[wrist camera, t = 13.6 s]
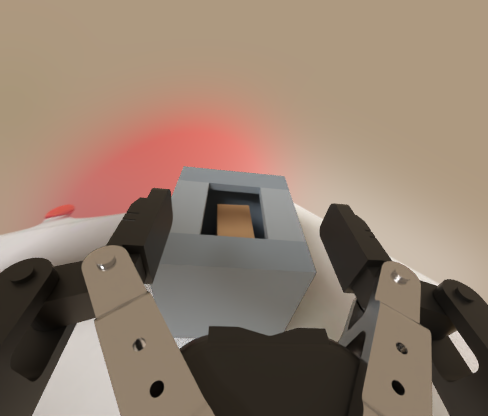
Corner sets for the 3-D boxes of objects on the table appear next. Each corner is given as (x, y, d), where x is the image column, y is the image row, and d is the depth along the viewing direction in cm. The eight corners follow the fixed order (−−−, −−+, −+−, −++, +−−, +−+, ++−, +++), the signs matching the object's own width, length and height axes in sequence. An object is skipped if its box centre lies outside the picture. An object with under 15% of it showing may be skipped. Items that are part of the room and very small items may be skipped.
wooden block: (241, 298, 31) (255, 239, 24) (212, 299, 30) (217, 239, 23) (238, 263, 36) (248, 205, 28) (213, 263, 35) (217, 204, 28)
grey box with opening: (279, 339, 27) (316, 272, 19) (163, 337, 26) (145, 263, 17) (265, 243, 40) (284, 176, 31) (187, 238, 38) (183, 166, 30)
